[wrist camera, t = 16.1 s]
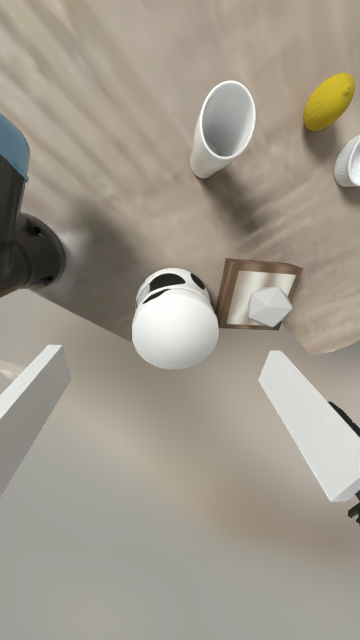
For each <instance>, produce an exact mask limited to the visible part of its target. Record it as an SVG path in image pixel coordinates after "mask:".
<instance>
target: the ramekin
mask: <svg viewBox="0 0 360 640" xmlns="http://www.w3.org/2000/svg"><path fill="white" fill-rule="evenodd" d="M334 176H335V179H336V182H337V183H338V184H339V185H341V186H343V187H353V186H358V187H360V135H358V136H357V137H355V138H353V139H352V140H351V141H349V142H348V143H347V144H346V145H345V147H344V148H343V149H342V150H341V152H340V154H339V155H338V157H337V160H336V163H335V167H334Z"/></svg>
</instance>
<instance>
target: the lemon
mask: <svg viewBox="0 0 360 640" xmlns="http://www.w3.org/2000/svg"><path fill="white" fill-rule="evenodd" d="M354 90H355V82H354V79H353V77H352V76H351V75H350V74H348V73H339V74H336V75H334V76H332V77H330V78H328V79H327V80H326V81H324V82H323V83H322V84H321V85H320V86H318V88H317V89H316V90H315V91H314V92H313V94H312V95H311V96H310V98H309V100H308V102H307V104H306V107H305V109H304V114H303V120H304V124H305V126H306V128H307V129H309V130H311V131H318V130H322V129H324V128H326V127H328V126H329V125H331V124H332V123H334V122H335V121H336V120H337V119H338V118H339V117H340V116H341V115H342V114H343V113H344V111H345V110H346V109H347V107H348V106H349V104H350V102H351V100H352V98H353V95H354Z"/></svg>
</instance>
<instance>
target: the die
mask: <svg viewBox="0 0 360 640" xmlns="http://www.w3.org/2000/svg"><path fill="white" fill-rule="evenodd" d="M292 309H293V308H292V306H291V303H290V301H289V299H288V296H287V295H286V294H285V293H284V292H283V291H282V290H281V289H280V288H279V287H267V288H262V289H260V290H258V291H255V292H253V293H251V296H250V299H249V302H248V316H249V318H251V319H252V320H254V321H256V322H257V323H259V324H263V325H266V326H270V327H274V326H275V325H277V324H278V323H279V322H281V321H282V320H284V319H285V317H286V316H287V315H288V314H289V312H290V311H291V310H292Z"/></svg>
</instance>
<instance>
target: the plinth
mask: <svg viewBox="0 0 360 640" xmlns="http://www.w3.org/2000/svg"><path fill="white" fill-rule="evenodd" d="M302 271H303V268H301V267H298V266H295V265H292V264H289V263H277V262H265V261H252V260H240V259H228V258H226V261H225V266H224V271H223V276H222V281H221V286H220V291H219V296H218V301H217V306H216V311H215V314H216V317H217V320H218V326H219V328H235V329H259V330H260V329H261V330H279V328H280V325H281V323H282V321H281V322H279V323H278V324H277V325H275V326H274V327H270V326H266V325H263V324H259V323H257V322H256V321H254V320H252V319H251V318H249V316H248V302H249V299H250V296H251V293H253V292H255V291H258V290H260V289H262V288H267V287H279V288H280V289H281V290H282V291H283V292H284V293H285V294H286V295H287V296H288V299H289V301H291V298H292V296H293V293H294V291H295V288H296V286H297V283H298V281H299V278H300V276H301V273H302Z"/></svg>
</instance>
